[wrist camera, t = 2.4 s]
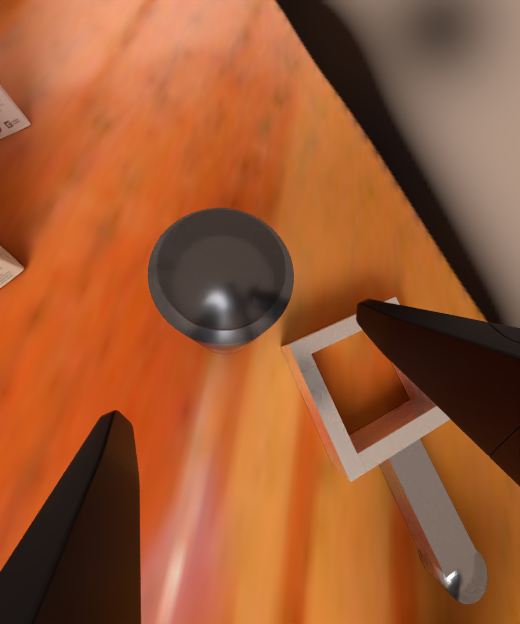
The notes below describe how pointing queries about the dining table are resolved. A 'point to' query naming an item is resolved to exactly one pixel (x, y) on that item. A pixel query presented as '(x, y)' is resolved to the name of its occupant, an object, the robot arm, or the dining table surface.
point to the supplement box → (10, 116)
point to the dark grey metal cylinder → (220, 278)
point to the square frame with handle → (394, 463)
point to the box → (8, 267)
